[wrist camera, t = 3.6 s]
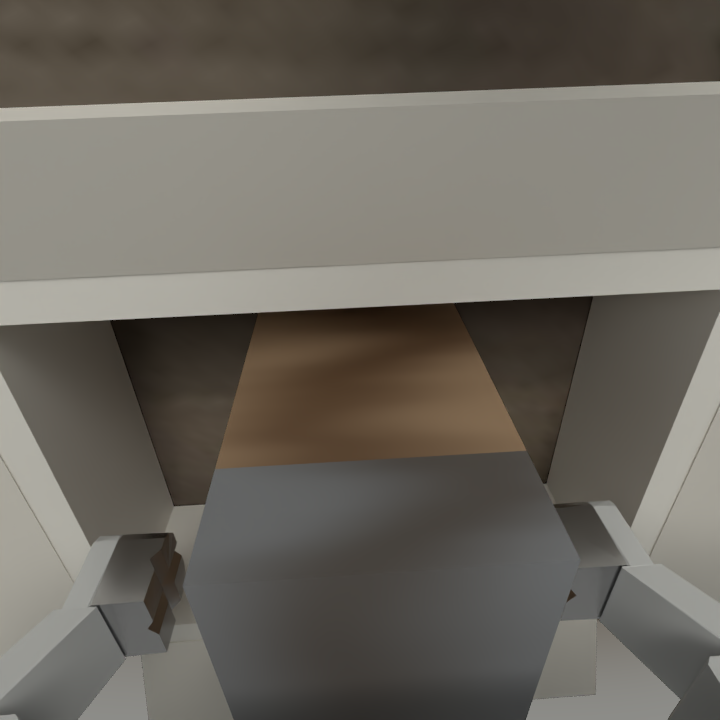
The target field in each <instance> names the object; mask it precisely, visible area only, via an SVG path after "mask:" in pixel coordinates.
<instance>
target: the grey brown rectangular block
mask: <svg viewBox="0 0 720 720" xmlns="http://www.w3.org/2000/svg"><path fill="white" fill-rule="evenodd" d="M580 561H581V559H580V557H579V555H578V553H577V551H576V549H575V547H574V545H573V543H572V541H571V539H570V537H569V535H568V533H567V531H566V529H565V527H564V525H563V523H562V521H561V519H560V517H559V515H558V513H557V511H556V509H555V507H554V505H553V503H552V501H551V499H550V497H549V495H548V493H547V491H546V489H545V487H544V485H543V483H542V481H541V479H540V477H539V475H538V473H537V471H536V469H535V467H534V464H533V462H532V460H531V458H530V456H529V454H528V452H527V450H526V448H525V446H524V444H523V442H522V440H521V438H520V436H519V434H518V432H517V430H516V428H515V426H514V424H513V422H512V420H511V418H510V416H509V414H508V412H507V410H506V408H505V406H504V404H503V402H502V400H501V398H500V396H499V394H498V392H497V390H496V388H495V386H494V384H493V382H492V380H491V378H490V376H489V374H488V372H487V370H486V368H485V365H484V363H483V361H482V359H481V357H480V355H479V353H478V351H477V349H476V347H475V345H474V343H473V341H472V339H471V337H470V335H469V333H468V331H467V329H466V327H465V325H464V323H463V321H462V319H461V317H460V315H459V313H458V311H457V309H456V307H455V305H454V303H440V304H420V305H400V306H380V307H360V308H340V309H320V310H300V311H280V312H260V313H258V316H257V319H256V323H255V326H254V330H253V334H252V337H251V341H250V344H249V348H248V352H247V355H246V359H245V363H244V366H243V370H242V373H241V377H240V381H239V384H238V388H237V391H236V395H235V399H234V402H233V406H232V409H231V413H230V417H229V420H228V424H227V428H226V431H225V435H224V438H223V442H222V446H221V449H220V453H219V456H218V460H217V464H216V467H215V471H214V474H213V478H212V482H211V485H210V489H209V493H208V496H207V500H206V503H205V507H204V511H203V514H202V518H201V521H200V525H199V529H198V532H197V536H196V539H195V543H194V547H193V550H192V554H191V558H190V561H189V565H188V568H187V572H186V576H185V579H184V583H183V589H184V591H185V594H186V597H187V599H188V602H189V604H190V607H191V610H192V612H193V615H194V617H195V620H196V623H197V625H198V628H199V630H200V633H201V636H202V638H203V641H204V644H205V646H206V649H207V651H208V654H209V657H210V659H211V662H212V664H213V667H214V670H215V672H216V675H217V677H218V680H219V683H220V685H221V688H222V691H223V693H224V696H225V698H226V701H227V704H228V706H229V709H230V711H231V714H232V717H233V719H234V720H526V717H527V714H528V711H529V708H530V705H531V702H532V700H533V697H534V694H535V691H536V688H537V685H538V682H539V679H540V676H541V674H542V671H543V668H544V665H545V662H546V659H547V656H548V653H549V650H550V648H551V645H552V642H553V639H554V636H555V633H556V630H557V627H558V624H559V622H560V619H561V616H562V613H563V610H564V607H565V604H566V601H567V598H568V596H569V593H570V590H571V587H572V584H573V581H574V578H575V575H576V572H577V570H578V567H579V564H580Z"/></svg>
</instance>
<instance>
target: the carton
mask: <svg viewBox="0 0 720 720" xmlns="http://www.w3.org/2000/svg"><path fill="white" fill-rule="evenodd" d="M579 296H593V299H592V303H591V307H590V311H589V315H588V319H587V323H586V327H585V331H584V335H583V339H582V343H581V347H580V351H579V355H578V359H577V363H576V367H575V371H574V375H573V379H572V383H571V387H570V391H569V395H568V399H567V403H566V407H565V411H564V415H563V419H562V423H561V427H560V431H559V435H558V439H557V443H556V447H555V451H554V455H553V459H552V463H551V467H550V471H549V475H548V479H547V483H546V484H543V485H544V487H545V489H546V491H547V493H548V495H549V497H550V499H551V501H552V503H553V504H563V503H575V502H594V501H608V500H610V501H611V502H612V503H614V504H615V506H616V507H617V509H618V510H619V512H620V513H621V515H622V516H623V518H624V519H625V521H626V522H627V524H628V525H629V527H630V528H631V530H632V531H633V533H634V534H635V536H636V537H637V539H638V540H639V542H640V543H641V545H642V546H643V548H644V549H645V551H646V552H647V554H648V555H649V557H650V559H651V560H652V562H653V563H654V564H662V565H664V566H665V567H667V568H668V569H670V570H671V571H673V572H674V573H676V574H677V575H679V576H680V577H682V578H683V579H685V580H686V581H688V582H689V583H691V584H692V585H693V586H695V587H696V588H698V589H699V590H701V591H702V592H704V593H705V594H707V595H708V596H710V597H711V598H713V599H714V600H716V601H717V602H719V603H720V81H718V82H691V83H664V84H638V85H611V86H584V87H557V88H531V89H504V90H477V91H450V92H423V93H397V94H370V95H343V96H316V97H290V98H263V99H236V100H209V101H182V102H156V103H129V104H102V105H75V106H49V107H22V108H0V657H1V656H2V655H3V654H4V653H5V652H7V651H8V650H9V649H10V648H11V647H12V646H13V645H15V644H16V643H17V642H18V641H19V640H20V639H21V638H23V637H24V636H25V635H26V634H27V633H28V632H29V631H31V630H32V629H33V628H34V627H35V626H36V625H37V624H39V623H40V622H41V621H42V620H43V619H44V618H45V617H46V616H48V615H49V614H50V613H51V612H52V611H53V610H56V609H62V607H63V605H64V603H65V601H66V599H67V597H68V595H69V593H70V590H71V588H72V586H73V584H74V582H75V580H76V578H77V576H78V574H79V572H80V570H81V568H82V565H83V563H84V561H85V559H86V557H87V555H88V553H89V551H90V549H91V547H92V545H93V543H94V542H95V541H96V540H97V539H98V538H99V537H100V536H110V535H126V534H149V533H173V534H174V536H175V539H176V541H177V544H176V548H175V551H176V552H177V553H179V554H180V555H182V557H183V560H184V565H185V576H186V572H187V568H188V565H189V561H190V558H191V554H192V550H193V547H194V543H195V539H196V536H197V532H198V529H199V525H200V521H201V518H202V514H203V511H204V507H205V505H189V506H174V505H173V502H172V499H171V496H170V493H169V491H168V488H167V485H166V482H165V479H164V476H163V473H162V470H161V467H160V464H159V462H158V459H157V456H156V453H155V450H154V447H153V444H152V441H151V438H150V436H149V433H148V430H147V427H146V424H145V421H144V418H143V415H142V412H141V409H140V407H139V404H138V401H137V398H136V395H135V392H134V389H133V386H132V383H131V381H130V378H129V375H128V372H127V369H126V366H125V363H124V360H123V357H122V354H121V352H120V349H119V346H118V343H117V340H116V337H115V334H114V331H113V328H112V326H111V323H110V320H121V319H141V318H161V317H181V316H201V315H220V314H240V313H260V312H280V311H300V310H320V309H340V308H360V307H380V306H400V305H420V304H440V303H460V302H480V301H499V300H519V299H539V298H559V297H579ZM172 612H173V615H174V617H175V620H176V621H175V625H174V628H173V632H172V636H171V640H170V643H169V647H168V651H167V652H163V653H154V654H145V655H141V659H142V668H143V677H144V684H145V694H146V702H147V710H148V719H149V720H234V719H233V717H232V714H231V711H230V709H229V706H228V704H227V701H226V698H225V696H224V693H223V691H222V688H221V685H220V683H219V680H218V677H217V675H216V672H215V670H214V667H213V664H212V662H211V659H210V657H209V654H208V651H207V649H206V646H205V644H204V641H203V638H202V636H201V633H200V630H199V628H198V625H197V623H196V620H195V617H194V615H193V612H192V610H191V607H190V604H189V602H188V599H187V597H186V594H185V591H184V590H183V594H182V598H181V600H180V602H179V603H178V604H177V605H176V606H175V607H174V608H173V609H172ZM596 640H597V619H586V620H566V621H560V622H559V624H558V627H557V630H556V633H555V636H554V639H553V642H552V645H551V648H550V650H549V653H548V656H547V659H546V662H545V665H544V668H543V671H542V674H541V676H540V679H539V682H538V685H537V688H536V691H535V694H534V697H533V699H546V698H559V697H572V696H585V695H595V694H596V642H597V641H596Z"/></svg>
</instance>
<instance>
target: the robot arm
mask: <svg viewBox="0 0 720 720" xmlns="http://www.w3.org/2000/svg"><path fill="white" fill-rule="evenodd" d="M553 505H554V507H555V509H556V511H557V513H558V515H559V517H560V519H561V521H562V523H563V525H564V527H565V529H566V531H567V533H568V535H569V537H570V539H571V541H572V543H573V545H574V547H575V549H576V551H577V553H578V555H579V557H580V559H581V561H580V564H579V567H578V570H577V572H576V575H575V578H574V581H573V584H572V587H571V590H570V593H569V596H568V598H567V601H566V604H565V607H564V610H563V613H562V616H561V619H560V621H566V620H586V619H600V622H601V623H602V624H603V625H604V626H605V627H606V628H607V629H608V630H609V631H610V632H611V633H612V634H613V635H615V636H616V637H617V638H618V639H619V640H620V641H621V642H622V643H623V644H624V645H625V646H626V647H627V648H628V649H629V650H630V651H631V652H632V653H633V654H634V655H635V656H636V657H638V659H640V661H642V662H643V663H644V664H645V665H646V666H647V667H648V668H649V669H650V670H651V671H652V672H653V673H654V674H655V675H656V676H657V677H658V678H659V679H660V680H661V681H662V682H663V683H664V684H666V686H667V687H668V688H670V689H671V690H672V691H673V692H674V693H675V694H676V695H677V696H678V697H679V698H680V699H681V700H680V701H679V703H678V704H677V706H676V707H675V709H674V710H673V712H672V713H671V715H670V716H669V718H668V720H720V603H719V602H717V601H716V600H714V599H713V598H711V597H710V596H708V595H707V594H705V593H704V592H702V591H701V590H699V589H698V588H696V587H695V586H693V585H692V584H691V583H689V582H688V581H686V580H685V579H683V578H682V577H680V576H679V575H677V574H676V573H674V572H673V571H671V570H670V569H668V568H667V567H665V566H664V565H662V564H654V563H653V562H652V560H651V559H650V557H649V555H648V554H647V552H646V551H645V549H644V548H643V546H642V545H641V543H640V542H639V540H638V539H637V537H636V536H635V534H634V533H633V531H632V530H631V528H630V527H629V525H628V524H627V522H626V521H625V519H624V518H623V516H622V515H621V513H620V512H619V510H618V509H617V507H616V506H615V504H614V503H612V502H611V501H610V500H608V501H594V502H575V503H563V504H553ZM176 544H177V541H176V539H175V536H174V534H173V533H149V534H126V535H110V536H100V537H99V538H98V539H97V540H96V541H95V542H94V543H93V545H92V547H91V549H90V551H89V553H88V555H87V557H86V559H85V561H84V563H83V565H82V568H81V570H80V572H79V574H78V576H77V578H76V580H75V582H74V584H73V586H72V588H71V590H70V593H69V595H68V597H67V599H66V601H65V603H64V605H63V607H62V609H56V610H53V611H52V612H51V613H50V614H49V615H48V616H46V617H45V618H44V619H43V620H42V621H41V622H40V623H39V624H37V625H36V626H35V627H34V628H33V629H32V630H31V631H29V632H28V633H27V634H26V635H25V636H24V637H23V638H21V639H20V640H19V641H18V642H17V643H16V644H15V645H13V646H12V647H11V648H10V649H9V650H8V651H7V652H5V653H4V654H3V655H2V656H1V657H0V720H78V718H79V717H80V716H81V715H82V713H83V712H84V711H85V710H86V708H87V707H88V706H89V705H90V703H91V702H92V701H93V700H94V698H95V697H96V696H97V694H98V693H99V692H100V691H101V690H102V688H103V687H104V686H105V685H106V683H107V682H108V681H109V680H110V678H111V677H112V676H113V674H114V673H115V672H116V671H117V670H118V668H119V667H120V666H121V665H122V663H123V662H124V661H125V657H127V656H136V655H145V654H154V653H163V652H167V651H168V647H169V643H170V640H171V636H172V632H173V628H174V625H175V621H176V620H175V617H174V615H173V612H172V609H173V608H174V607H175V606H176V605H177V604H178V603H179V602H180V600H181V598H182V594H183V590H184V589H183V583H184V579H185V565H184V560H183V557H182V555H180V554H179V553H177V552H176V551H175V548H176Z"/></svg>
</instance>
